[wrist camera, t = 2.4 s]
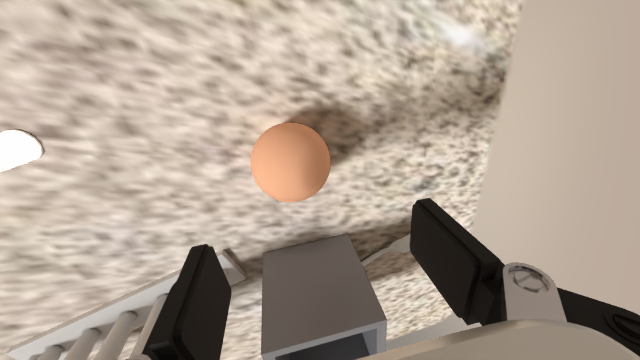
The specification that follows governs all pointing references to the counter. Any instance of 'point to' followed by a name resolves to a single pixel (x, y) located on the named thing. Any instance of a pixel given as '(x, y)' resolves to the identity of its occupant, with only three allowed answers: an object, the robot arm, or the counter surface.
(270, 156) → the ball
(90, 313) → the test tube rack
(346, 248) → the grey open square box
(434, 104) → the counter surface
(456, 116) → the counter surface
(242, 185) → the counter surface
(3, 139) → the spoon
